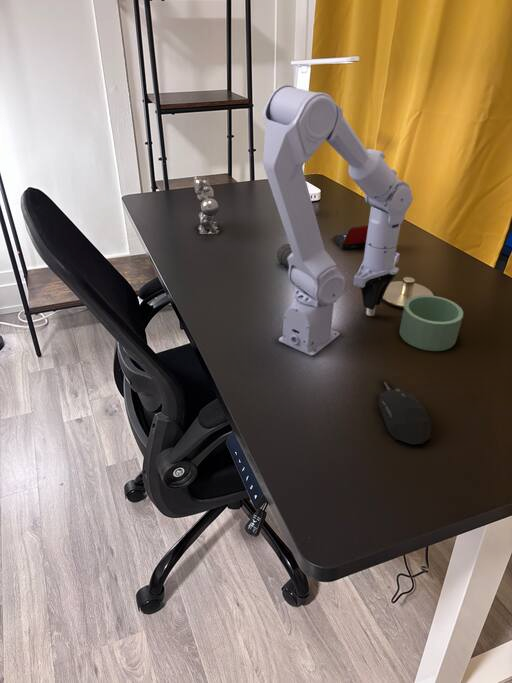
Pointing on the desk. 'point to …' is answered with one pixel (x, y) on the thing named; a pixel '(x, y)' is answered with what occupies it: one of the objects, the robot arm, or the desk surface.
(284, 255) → the flashlight
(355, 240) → the handheld console
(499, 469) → the desk surface
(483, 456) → the desk surface
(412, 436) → the gaming mouse
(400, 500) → the desk surface
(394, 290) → the canister lid
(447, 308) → the canister
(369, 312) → the marker
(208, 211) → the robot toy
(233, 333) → the desk surface
